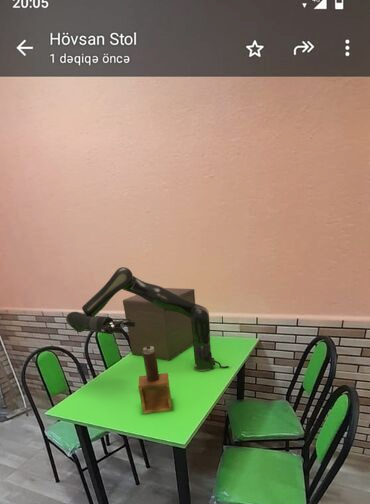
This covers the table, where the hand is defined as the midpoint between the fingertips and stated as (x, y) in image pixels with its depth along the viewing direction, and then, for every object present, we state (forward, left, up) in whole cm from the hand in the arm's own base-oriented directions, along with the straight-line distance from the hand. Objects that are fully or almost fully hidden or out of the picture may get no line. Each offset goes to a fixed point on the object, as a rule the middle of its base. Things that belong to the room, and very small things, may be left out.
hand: (128, 327), depth 148 cm
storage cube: (-14, -61, -34) cm, 71 cm away
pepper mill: (-8, +14, -20) cm, 26 cm away
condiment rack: (-8, +14, -34) cm, 38 cm away
